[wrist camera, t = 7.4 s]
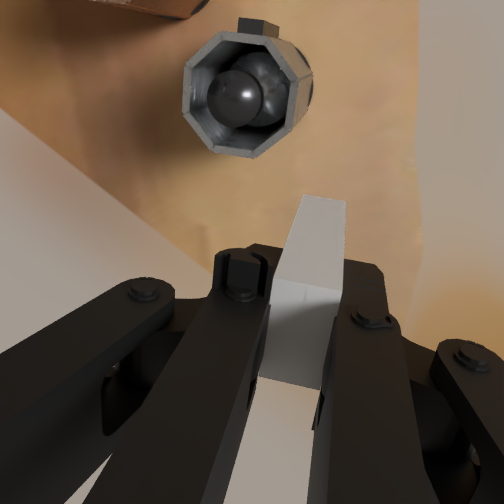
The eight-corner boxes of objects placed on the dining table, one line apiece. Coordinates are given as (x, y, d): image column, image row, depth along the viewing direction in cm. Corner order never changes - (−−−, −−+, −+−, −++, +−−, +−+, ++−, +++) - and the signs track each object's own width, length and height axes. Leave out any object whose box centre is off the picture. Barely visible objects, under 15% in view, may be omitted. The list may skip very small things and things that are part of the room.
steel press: (222, 125, 50) (178, 149, 37) (230, 22, 45) (183, 9, 33) (305, 138, 48) (288, 166, 36) (322, 33, 44) (310, 23, 31)
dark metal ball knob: (223, 120, 44) (187, 138, 35) (229, 48, 41) (192, 45, 32) (288, 130, 43) (270, 151, 34) (299, 57, 40) (282, 56, 31)
